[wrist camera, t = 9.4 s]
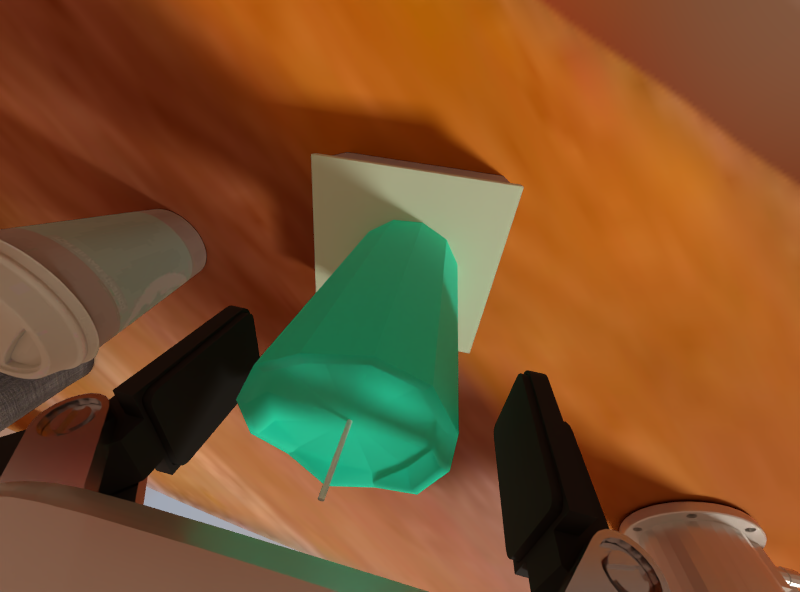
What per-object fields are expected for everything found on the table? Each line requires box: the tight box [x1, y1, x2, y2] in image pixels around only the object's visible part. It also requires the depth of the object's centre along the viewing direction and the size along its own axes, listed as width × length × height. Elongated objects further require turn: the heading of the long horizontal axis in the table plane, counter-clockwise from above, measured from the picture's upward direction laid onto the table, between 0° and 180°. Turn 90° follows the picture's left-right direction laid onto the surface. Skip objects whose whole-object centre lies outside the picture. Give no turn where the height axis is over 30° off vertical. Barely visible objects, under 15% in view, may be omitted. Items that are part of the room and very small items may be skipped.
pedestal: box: [311, 152, 524, 353], centre depth 19 cm, size 10×10×5 cm
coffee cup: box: [0, 209, 206, 379], centre depth 19 cm, size 8×9×12 cm
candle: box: [236, 220, 459, 501], centre depth 11 cm, size 6×6×12 cm
